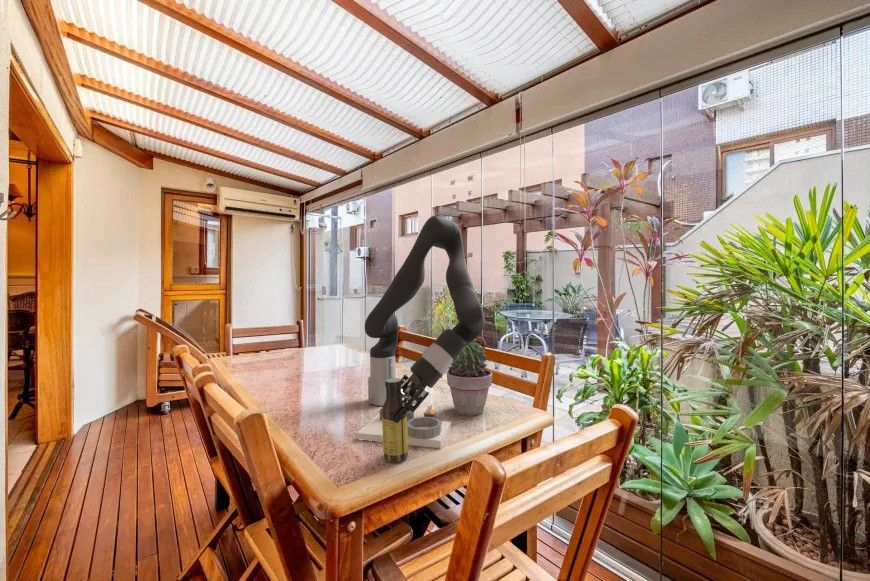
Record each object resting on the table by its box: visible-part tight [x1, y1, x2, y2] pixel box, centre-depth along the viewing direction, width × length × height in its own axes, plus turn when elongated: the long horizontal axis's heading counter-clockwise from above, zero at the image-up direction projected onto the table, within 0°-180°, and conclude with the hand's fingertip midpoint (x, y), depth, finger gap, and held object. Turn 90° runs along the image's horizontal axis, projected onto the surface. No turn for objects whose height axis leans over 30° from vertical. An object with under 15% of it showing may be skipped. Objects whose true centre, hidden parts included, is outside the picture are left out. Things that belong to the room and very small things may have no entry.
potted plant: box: [445, 335, 493, 416], centre depth 129 cm, size 18×20×25 cm
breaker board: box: [356, 403, 452, 449], centre depth 110 cm, size 24×14×7 cm, turn 77°
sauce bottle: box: [381, 377, 409, 464], centre depth 95 cm, size 6×6×20 cm
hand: (389, 415), depth 94 cm, fingers open, 7 cm apart
